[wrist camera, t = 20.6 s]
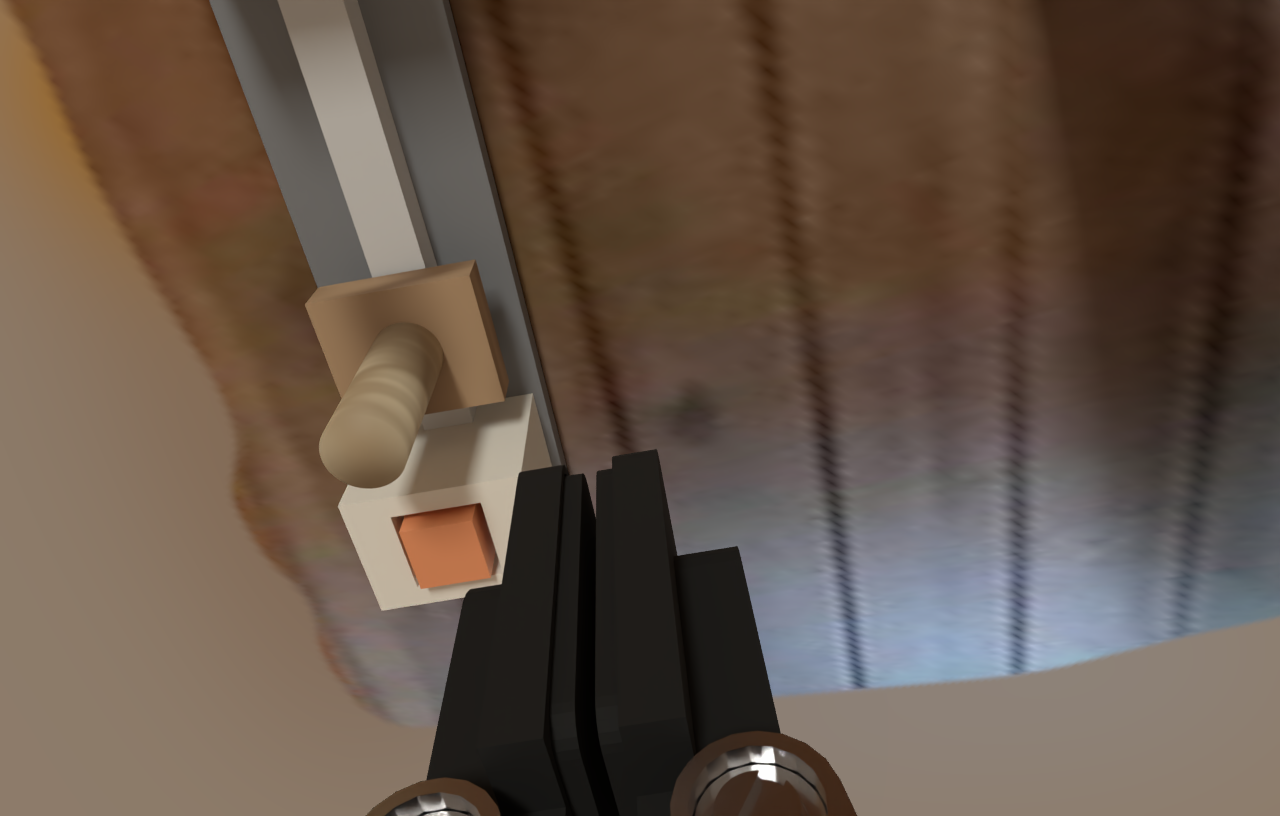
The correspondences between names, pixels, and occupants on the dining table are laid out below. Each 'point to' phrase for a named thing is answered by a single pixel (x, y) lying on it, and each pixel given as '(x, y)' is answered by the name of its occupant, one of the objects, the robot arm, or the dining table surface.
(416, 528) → the block
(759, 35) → the dining table surface
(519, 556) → the robot arm
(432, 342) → the carriage
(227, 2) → the rail base
